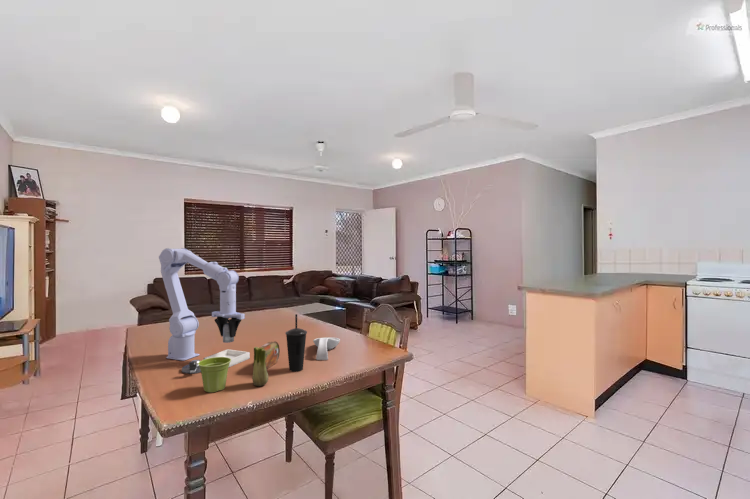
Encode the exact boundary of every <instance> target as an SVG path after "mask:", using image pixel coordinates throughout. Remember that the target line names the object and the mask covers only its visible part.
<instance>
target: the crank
mask: <svg viewBox="0 0 750 499" xmlns="http://www.w3.org/2000/svg"><path fill="white" fill-rule="evenodd" d="M200 361H201V359H193V360H191V361H189V362H188V365H189V370H190V373H191V372H196V370H197V367H198V366H199V365H198V362H200Z"/></svg>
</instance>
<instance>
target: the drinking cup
mask: <svg viewBox="0 0 750 499" xmlns="http://www.w3.org/2000/svg"><path fill="white" fill-rule="evenodd" d="M294 317H295V319H294V320H295V322H294V323H295V325H294V326H295V328H291V329H289V330H287V331H285V332H284V333H285V337H286V346H287V347H286V348H287V356H288V357H287V358H288V359H287V361H288V369H289V371H290V372H291V373H294V372H298V373H299V372H302V371H303V370H304V360H305V352H306V339H307V334H308V331H307V330H305V329H304V328H300V327H299V328H298V314H295V316H294Z"/></svg>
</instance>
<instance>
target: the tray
mask: <svg viewBox="0 0 750 499" xmlns="http://www.w3.org/2000/svg"><path fill="white" fill-rule="evenodd" d="M250 354H251V353H250V351H245V350H243V351H242V350H235V349H224V350H222V351H219V352H216V353H213V354H210V355H209V356H208V355H207V356H205V357H203V359H202V360H204V359H208V358H213V357H227V358H230V359H231V362H230V364H229V367H228V369H229V368H230V367H234V366H236V365H238V364H240V363H243V362H245V361H247V360H249V359H251V358H250V356H251V355H250Z"/></svg>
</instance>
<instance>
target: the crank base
mask: <svg viewBox="0 0 750 499" xmlns="http://www.w3.org/2000/svg"><path fill="white" fill-rule="evenodd" d="M181 373H183V374H185V375H188V374H189V375H193V374H194V375H195V374H200V373H201V370H200V366H198V367H197V370H196V372H191V373H190V370H189V364H186V365H184V366H182V367H181Z"/></svg>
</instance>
